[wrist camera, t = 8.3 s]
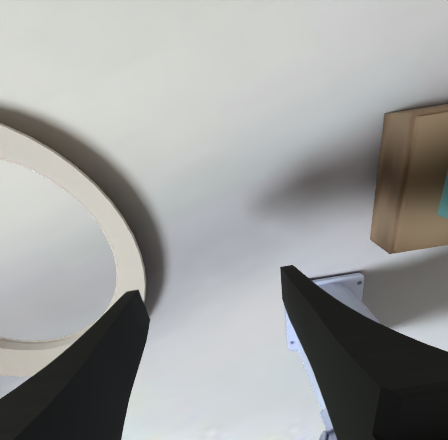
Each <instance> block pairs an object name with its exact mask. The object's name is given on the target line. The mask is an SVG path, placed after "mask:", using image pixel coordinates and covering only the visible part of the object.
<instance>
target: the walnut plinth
mask: <svg viewBox="0 0 448 440" xmlns="http://www.w3.org/2000/svg"><path fill="white" fill-rule="evenodd" d="M447 171H448V103H447V104H441V105H435V106H429V107H423V108H416V109H410V110H404V111H398V112H392V113H386V114H385V115H384V124H383V132H382V141H381V150H380V158H379V167H378V176H377V184H376V193H375V202H374V210H373V219H372V228H371V236H370V240H371V241H373V242H374V243H375V244H377V245H378V246H380V247H381V248H382V249H384V250H385V251H386V252H388V253H389V254H392V253H399V252H406V251H412V250H418V249H425V248H431V247H437V246H443V245H448V219H447V218H444V217H442V216H439V215H437V213H438V209H439V205H440V200H441V196H442V192H443V188H444V184H445V179H446V175H447Z"/></svg>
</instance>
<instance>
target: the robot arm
mask: <svg viewBox="0 0 448 440" xmlns="http://www.w3.org/2000/svg"><path fill="white" fill-rule="evenodd" d="M280 268H281V284H282V299H283V302H284V305H285V309H286V326H287V344H288V349H289V351H298V352H299V355H300V357H301V360H302V362H303V365H304V368H305V370H306V373H307V375H308V378H309V381H310V383H311V386H312V388H313V391H314V393H315V396H316V399H317V401H318V403H319V405H320V407H321V409H322V411H321V412H320V415H321V418H322V420H323V423H324V426H325V428H326V430H325V431H323V433H322V434H321V435H320V439H319V440H448V352H447V351H444V350H441V349H438V348H436V347H433V346H430V345H427V344H425V343H422V342H420V341H417V340H415V339H413V338H410V337H408V336H405V335H403V334H401V333H399V332H396V331H394V330H392V329H390V328H388V327H386V326H384V325H382V324H381V323H380V322H379V321H378V320H377V319H376V317H375V316H374V315H373V314H372V313H371V311H370V310H369V309H368V308H367V307H366V306H365V304H364V303H363V302H362V297H363V288H364V279H365V277H364V275H363V274H362V273H354V274H348V275H342V276H335V277H329V278H323V279H316V280H310V279H309V278H308V277H306V276H305V275H304V274H303V273H302V272H300V271H299V270H298V269H297V268H296V267H294V266H293V265H290V266H284V267H280ZM358 281H359V282H358ZM357 282H358V283H357ZM149 322H150V319H149V316H148V313H147V311H146V308H145V305H144V302H143V300H142V297H141V294H140V292H139V290H132V291H127V292H126V293H124V294H123V295H122V296H121V297H120V298H119V299H118V300H117V301H116V302H115V303H114V304H113V305H112V306H111V307H110V308H109V309H108V311H107V312H106V313H105V314H104V315H103V316H102V317H101V318H100V319H99V320H98V321H97V322H96V323H95V324H94V325H92V326H91V327H90V328H89V329H88V330H87V331H86V332H85V333H84V334H83V335H82V336H81V337H80V338H79V339H78V340H76V341H75V342H74V343H73V344H72V345H71V346H70V347H69V348H67V349H66V350H65V351H64V352H63V353H62V354H60V355H59V356H58V357H57V358H55V359H54V360H53V361H52V362H51V363H49V364H48V365H47V366H45V367H44V368H43V369H41V370H40V371H39V372H37V373H36V374H35V375H33V376H32V377H31V378H29V379H28V380H27V381H25V382H24V383H23V384H21V385H20V386H18V387H17V388H16V389H14V390H13V391H11V392H10V393H8V394H7V395H5V396H4V397H2V398H1V399H0V440H121V437H122V432H123V426H124V421H125V417H126V412H127V407H128V402H129V398H130V394H131V390H132V387H133V384H134V380H135V377H136V374H137V370H138V367H139V364H140V361H141V357H142V354H143V351H144V347H145V344H146V340H147V335H148V329H149Z"/></svg>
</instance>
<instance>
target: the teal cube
mask: <svg viewBox="0 0 448 440" xmlns="http://www.w3.org/2000/svg"><path fill="white" fill-rule="evenodd" d="M437 215H439V216H442V217H444V218H447V219H448V171H447V175H446V179H445V184H444V188H443V192H442V196H441V200H440V205H439V209H438V213H437Z"/></svg>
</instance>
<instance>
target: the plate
mask: <svg viewBox="0 0 448 440" xmlns="http://www.w3.org/2000/svg"><path fill="white" fill-rule="evenodd" d="M0 159H2V160H5V161H8V162H11V163H14V164H17V165H20V166H22V167H24V168H27V169H29V170H31V171H34V172H36V173H38V174H39V175H41V176H43V177H45V178H47V179H49V180H50V181H52V182H53V183H55V184H56V185H58V186H59V187H61V188H62V189H64V190H65V191H66V192H68V193H69V194H70V195H71V196H72V197H74V198H75V199H76V200H77V201H78V202H79V203H80V204H81V205H82V206H83V207H84V208H85V209H86V210H87V211H88V212H89V213H90V214H91V215H92V217H93V218H94V219H95V221H96V222H97V223H98V224H99V226H100V227H101V229H102V231H103V232H104V234H105V236H106V237H107V240H108V242H109V244H110V246H111V248H112V252H113V255H114V258H115V263H116V270H117V282H116V288H115V292H114V295H113V298H112V300H111V302H110V304H109V306H108V308H107V309H106V310H105V312H104V313H103V314H102V316H103V315H104V314H105V313H106V312H107V311H108V309H109V308H110V307H111V306H112V305H113V304H114V303H115V302H116V301H117V300H118V299H119V298H120V297H121V296H122V295H123V294H124V293H126V292H127V291H132V290H139V292H140V294H141V297H142V300H143V302H144V301H145V296H146V276H145V267H144V263H143V259H142V255H141V252H140V249H139V247H138V244H137V242H136V239H135V237H134V235H133V233H132V231H131V229H130V227H129V226H128V224H127V222H126V220H125V219H124V217H123V216H122V214H121V213H120V212H119V210H118V209H117V207H116V206H115V205H114V203H113V202H112V201H111V200H110V198H109V197H108V196H107V195H106V194H105V193H104V192H103V191H102V190H101V189H100V187H99V186H98V185H97V184H96V183H95V182H94V181H92V180H91V179H90V178H89V177H88V176H87V175H86V174H85V173H84V172H82V171H81V170H80V169H79V168H78V167H77V166H75V165H74V164H73V163H71V162H70V161H68V160H67V159H66V158H64V157H63V156H62V155H60V154H59V153H57V152H56V151H54V150H53V149H51V148H49V147H48V146H46V145H44V144H43V143H41V142H39V141H37V140H36V139H34V138H32V137H30V136H28V135H26V134H24V133H22V132H20V131H17V130H15V129H13V128H11V127H9V126H7V125H4V124H1V123H0ZM102 316H100V317H99V318H98V319H97V320H96V321H95V322H94V323H92V324H91V325H90V326H88V327H87V328H85V329H83V330H81V331H79V332H77V333H74V334H71V335H69V336H65V337H61V338H57V339H50V340H39V341H26V340H14V339H7V338H2V337H0V375H6V376H33V375H35V374H36V373H37V372H39V371H40V370H41V369H43V368H44V367H45V366H47V365H48V364H49V363H51V362H52V361H53V360H54V359H55V358H57V357H58V356H59V355H60V354H62V353H63V352H64V351H65V350H66V349H67V348H69V347H70V346H71V345H72V344H73V343H74V342H75V341H76V340H78V339H79V338H80V337H81V336H82V335H83V334H84V333H85V332H86V331H87V330H88V329H89V328H90V327H91V326H92V325H94V324H95V323H96V322H97V321H98V320H99V319H100V318H101V317H102Z"/></svg>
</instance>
